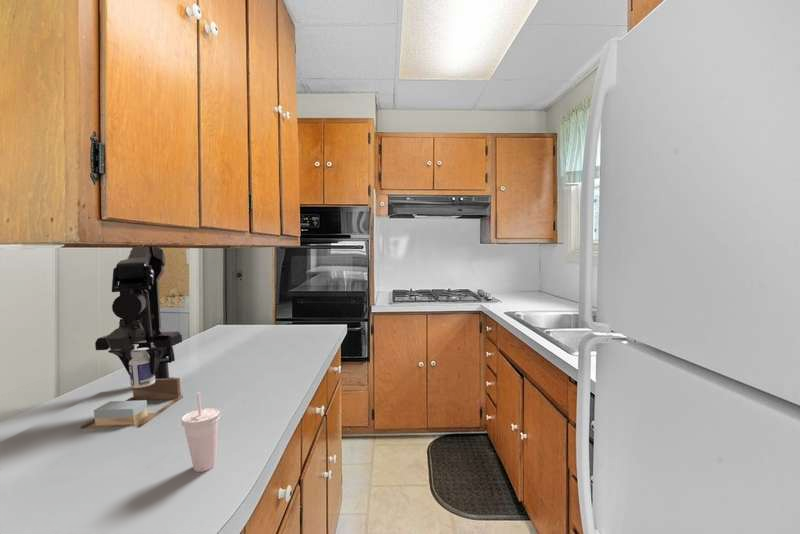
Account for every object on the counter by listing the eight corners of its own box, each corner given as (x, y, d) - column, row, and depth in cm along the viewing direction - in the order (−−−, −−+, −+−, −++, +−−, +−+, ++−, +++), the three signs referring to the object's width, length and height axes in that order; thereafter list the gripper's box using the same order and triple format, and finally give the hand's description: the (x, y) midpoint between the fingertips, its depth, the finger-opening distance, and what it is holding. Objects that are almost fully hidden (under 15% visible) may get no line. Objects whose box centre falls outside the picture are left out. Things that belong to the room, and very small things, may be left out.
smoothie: (181, 478, 74) (174, 400, 73) (189, 460, 80) (183, 388, 79) (221, 471, 76) (215, 395, 75) (225, 454, 82) (220, 383, 81)
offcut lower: (111, 416, 101) (110, 408, 101) (148, 415, 101) (147, 407, 101) (95, 425, 96) (94, 417, 96) (134, 424, 96) (133, 416, 96)
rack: (133, 401, 113) (131, 379, 112) (184, 400, 112) (182, 377, 112) (81, 432, 95) (78, 406, 95) (141, 430, 94) (139, 404, 94)
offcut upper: (110, 408, 101) (109, 401, 101) (147, 407, 101) (146, 400, 100) (94, 417, 96) (93, 410, 96) (133, 416, 96) (132, 408, 95)
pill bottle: (159, 380, 109) (156, 346, 108) (148, 387, 104) (145, 351, 103) (138, 381, 109) (135, 347, 108) (126, 389, 104) (122, 353, 103)
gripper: (74, 320, 97) (80, 387, 98) (153, 317, 97) (160, 384, 98) (108, 312, 108) (114, 372, 110) (180, 309, 108) (185, 369, 109)
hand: (142, 374), depth 106 cm, fingers closed on pill bottle, 5 cm apart
